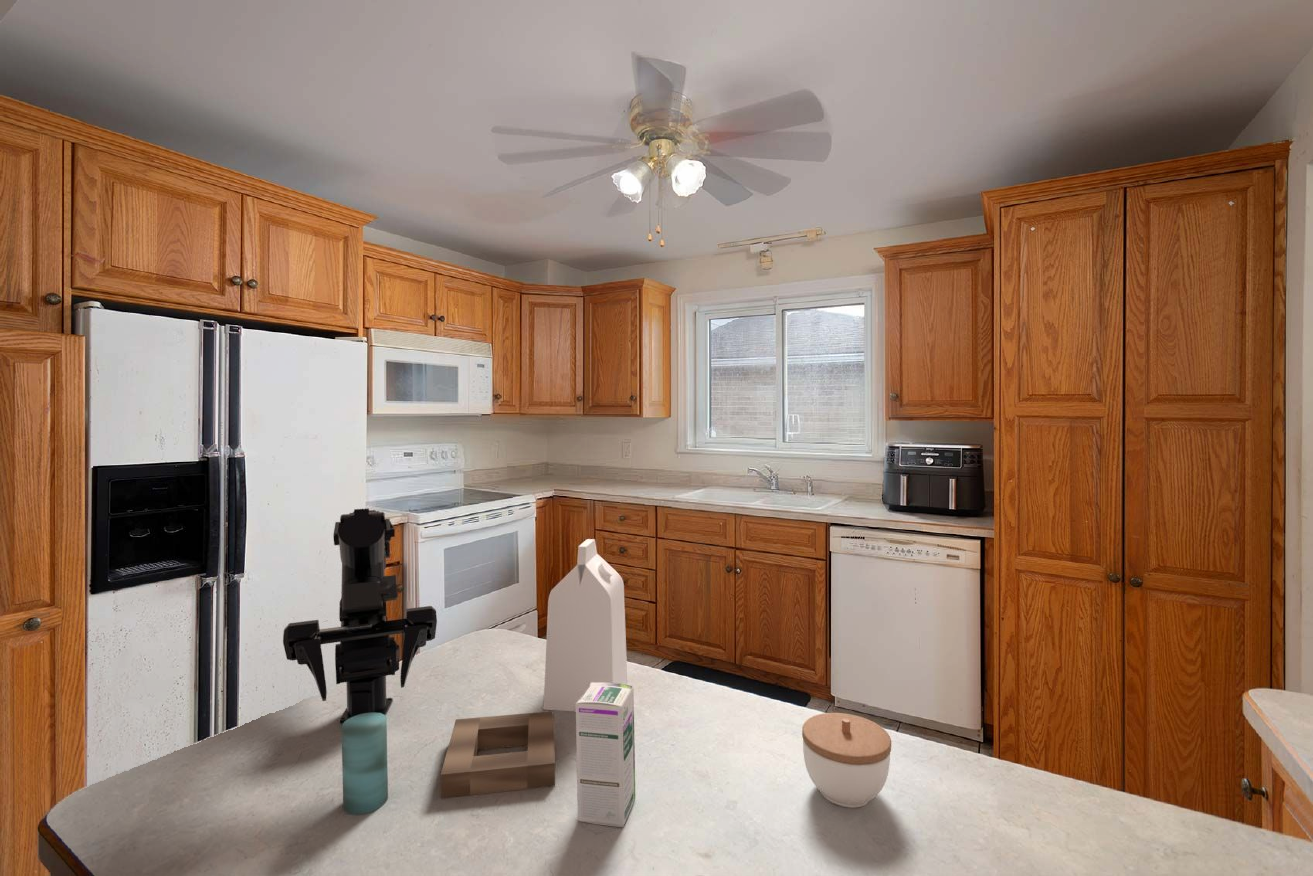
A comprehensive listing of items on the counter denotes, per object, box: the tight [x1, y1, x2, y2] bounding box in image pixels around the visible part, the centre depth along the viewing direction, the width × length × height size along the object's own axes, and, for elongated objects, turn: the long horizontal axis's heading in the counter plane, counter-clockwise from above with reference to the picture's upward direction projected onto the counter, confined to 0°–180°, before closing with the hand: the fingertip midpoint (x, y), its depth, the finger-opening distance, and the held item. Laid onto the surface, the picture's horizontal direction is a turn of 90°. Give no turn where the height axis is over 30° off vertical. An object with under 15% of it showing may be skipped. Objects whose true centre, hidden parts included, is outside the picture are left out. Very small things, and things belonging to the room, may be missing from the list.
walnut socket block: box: [440, 710, 556, 799], centre depth 85 cm, size 14×14×3 cm
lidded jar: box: [801, 712, 892, 809], centre depth 78 cm, size 11×11×9 cm
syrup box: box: [575, 682, 636, 828], centre depth 75 cm, size 6×6×14 cm
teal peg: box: [341, 712, 389, 816], centre depth 76 cm, size 5×5×10 cm
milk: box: [543, 538, 628, 712], centre depth 105 cm, size 12×12×26 cm
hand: (364, 692), depth 81 cm, fingers open, 9 cm apart
